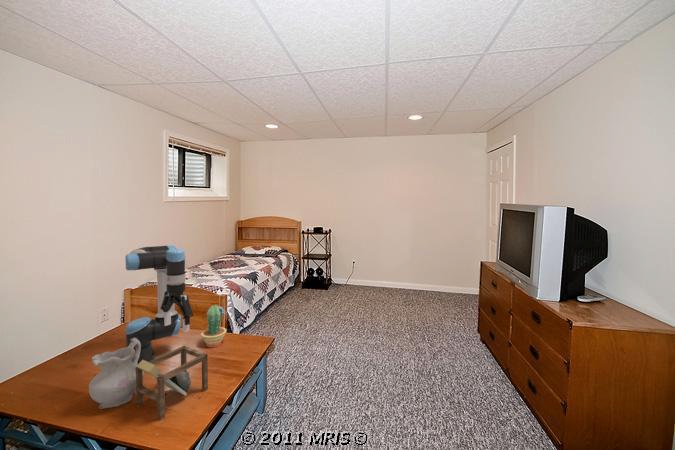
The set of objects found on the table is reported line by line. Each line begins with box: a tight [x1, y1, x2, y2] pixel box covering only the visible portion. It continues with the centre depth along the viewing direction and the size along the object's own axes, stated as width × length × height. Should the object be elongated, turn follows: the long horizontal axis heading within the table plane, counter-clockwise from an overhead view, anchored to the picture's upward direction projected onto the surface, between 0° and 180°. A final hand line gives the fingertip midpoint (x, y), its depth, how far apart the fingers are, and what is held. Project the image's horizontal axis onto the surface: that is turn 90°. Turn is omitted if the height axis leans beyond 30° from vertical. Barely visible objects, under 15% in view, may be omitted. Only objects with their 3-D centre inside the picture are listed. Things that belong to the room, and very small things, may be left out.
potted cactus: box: [200, 304, 227, 348], centre depth 182 cm, size 15×15×25 cm
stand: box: [135, 345, 209, 421], centre depth 130 cm, size 18×23×18 cm
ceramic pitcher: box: [88, 337, 144, 410], centre depth 129 cm, size 22×20×25 cm
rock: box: [166, 371, 192, 393], centre depth 134 cm, size 13×9×6 cm
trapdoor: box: [137, 360, 188, 397], centre depth 126 cm, size 13×23×3 cm
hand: (176, 328), depth 131 cm, fingers open, 13 cm apart
